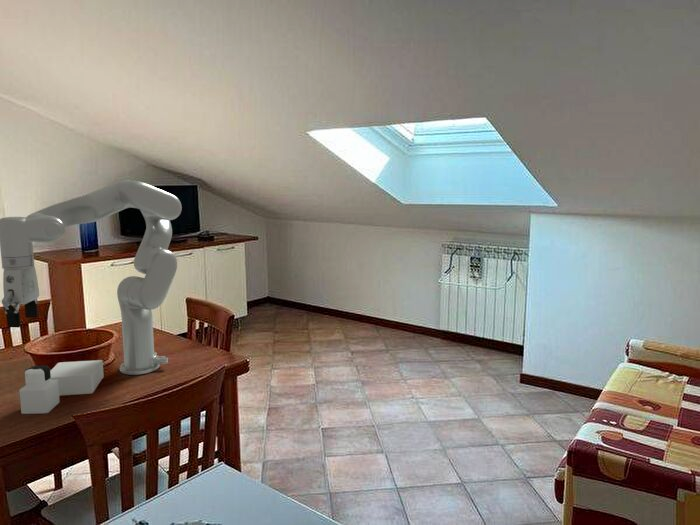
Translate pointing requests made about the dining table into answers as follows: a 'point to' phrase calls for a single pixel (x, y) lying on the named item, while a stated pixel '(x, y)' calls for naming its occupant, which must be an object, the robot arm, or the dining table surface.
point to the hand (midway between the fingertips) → (23, 322)
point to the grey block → (77, 376)
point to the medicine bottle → (38, 391)
